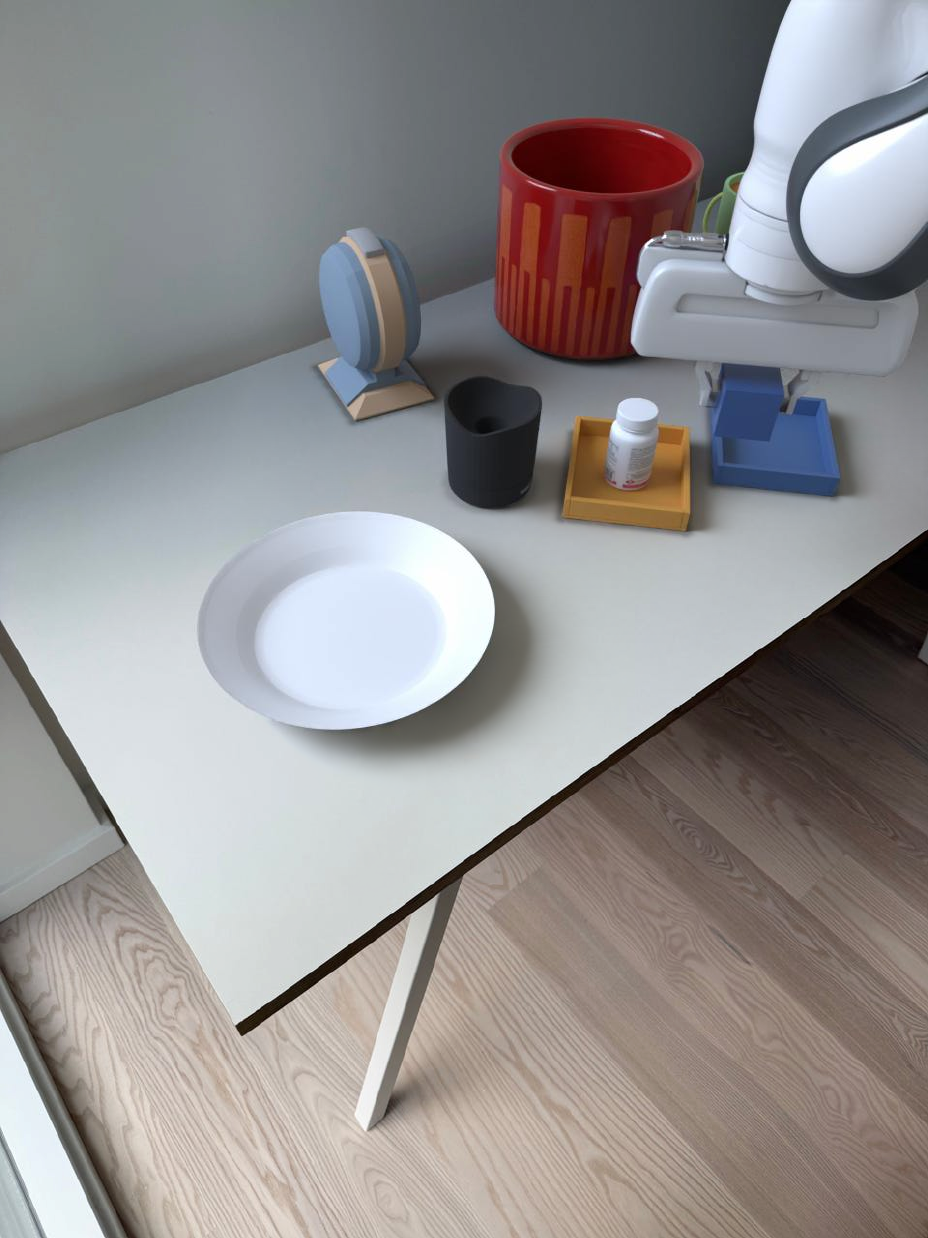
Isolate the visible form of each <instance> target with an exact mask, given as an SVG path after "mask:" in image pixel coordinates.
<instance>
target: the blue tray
mask: <svg viewBox="0 0 928 1238" xmlns="http://www.w3.org/2000/svg"><path fill="white" fill-rule="evenodd" d="M709 410H710V411H709V412H710V413H709V415H710V437H711V441H710V442H711V466H712V467H711V468H712V484H715V485H724V486H733V487H743V488H752V489H760V490H761V489H762V490H768V491H769V490H771V491H778V492H779V491H780V492H788V493H798V494H806V495H815V496H816V495H817V496H825V497H834V495H835V493H836V490H837V488H838V486H839V483H840V481H841V474H840V468H839V462H838V457H837V452H836V447H835V442H834V437H833V431H832V425H831V421H830V420H831V419H830V416H829V409H828V404H827V399H826V398H822V397H821V398H820V397H813V396H803V395H802V396H801V397H800V398H797V401H796V404H795V407H794V410H793V413H792V415H788V414H779V413H778V416H777V419H776V422H775V425H774V429H773V432H772V435H771V438H770V441H769V442H767V441H757V440H747V439H736V438H726V437H716V436H713V421H712V407H709Z"/></svg>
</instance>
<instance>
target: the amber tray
mask: <svg viewBox="0 0 928 1238" xmlns="http://www.w3.org/2000/svg"><path fill="white" fill-rule="evenodd" d="M615 420H616V419H613V418H605V417H593V416H585V415H575V420H574V428H573V434H572V442H571V449H570V455H569V463H568V471H567V479H566V484H565V485H566V486H565V493H564V499H563V508H562V518H565V519H573V520H581V521H591V522H601V523H607V524H617V525H626V526H633V527H643V528H652V529H660V530H661V529H662V530H671V531H679V532H687V528H688V525H689V520H690V516H691V437H690V436H691V435H690V434H691V432H690V431H691V428H690V426H684V425H683V426H682V425H673V424H672V425H671V424H663V423H657V426H658V429H659V435H658V440H657V446H656V450H655V456H654V461H653V466H652V471H651V476H650V480H649V482H648V483H647V485H645V486H644V487H643V488H641V489H638V490H634V491H625V490H620V489H617V488H615V487H613V486H611V485H610V484H609V483H608V482H607V481H606V479H605V476H604V469H605V463H606V456H607V449H608V443H609V436H610V430H611V426H612V423H613V422H614V421H615Z"/></svg>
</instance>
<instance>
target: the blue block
mask: <svg viewBox="0 0 928 1238" xmlns="http://www.w3.org/2000/svg"><path fill="white" fill-rule="evenodd" d="M782 377H783V376H782V369H781V368H775V367H764V366H753V365H741V364H730V363H721V366H720V370H719V373H718V377H717V379H721V389H722V392H721V396H720V400H719V404H718V407H717V408H712V421H713V436H716V437H726V438H736V439H747V440H757V441H767V442H769V441H770V438H771V435H772V432H773V429H774V425H775V422H776V419H777V416H778V413H779V410H780V407H781V404H782V400H783V397H784V389H783V385H784V384H783V378H782Z"/></svg>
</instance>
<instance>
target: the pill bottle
mask: <svg viewBox="0 0 928 1238" xmlns="http://www.w3.org/2000/svg"><path fill="white" fill-rule="evenodd" d="M659 414H660V409H659V407H658V406H657V405H656V404H655V403H654V402H653V401H652V400H648V399H646V398H643V397H629V398H626V399H624V400H622V401H621V402H619V404H618V406H617V409H616V416H615V419H614V420H615V421H614V422H613V423H612V426H611V430H610V436H609V443H608V449H607V456H606V463H605V469H604V476H605V479H606V481H607V482H608V483H609V484H610V485H611V486H613V487H615V488H617V489H620V490H625V491H634V490H638V489H641V488H643V487H644V486H645V485H647V483H648V482H649V480H650V476H651V471H652V466H653V461H654V456H655V450H656V446H657V440H658V435H659V429H658V426H657V424H658V421H659V416H660V415H659Z"/></svg>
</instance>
